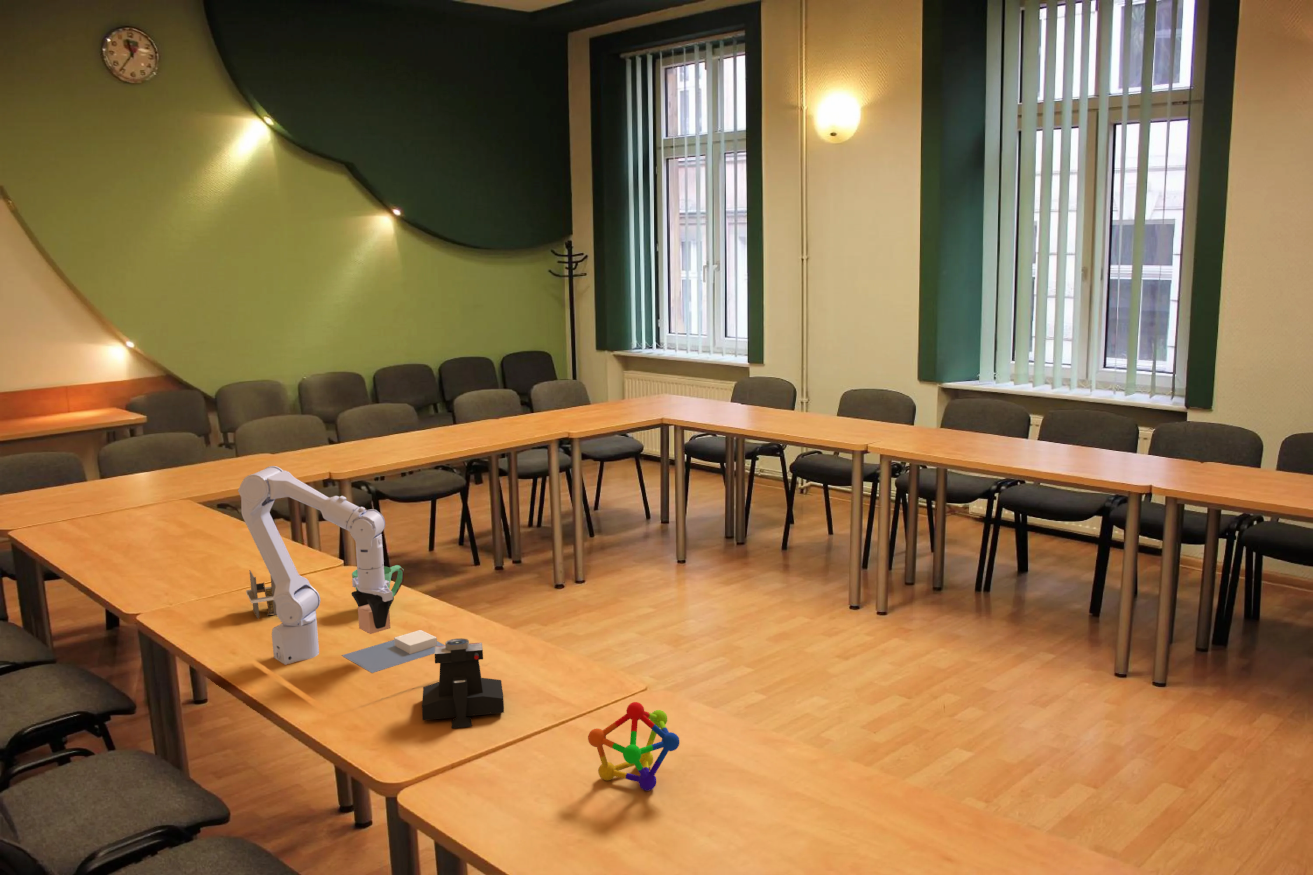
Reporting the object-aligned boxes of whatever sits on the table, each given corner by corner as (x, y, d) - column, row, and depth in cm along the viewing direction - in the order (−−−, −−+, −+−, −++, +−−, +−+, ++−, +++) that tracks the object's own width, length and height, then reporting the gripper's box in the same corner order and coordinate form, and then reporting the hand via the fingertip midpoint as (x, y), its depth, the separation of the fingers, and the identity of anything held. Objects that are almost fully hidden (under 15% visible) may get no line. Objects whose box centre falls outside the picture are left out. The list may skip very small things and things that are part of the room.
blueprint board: (372, 676, 237) (371, 664, 236) (341, 658, 247) (340, 646, 246) (451, 651, 250) (450, 639, 249) (419, 635, 260) (418, 624, 259)
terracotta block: (370, 634, 240) (368, 612, 239) (359, 628, 244) (357, 606, 243) (390, 628, 243) (389, 606, 242) (379, 622, 247) (377, 601, 246)
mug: (371, 618, 272) (368, 580, 270) (346, 610, 278) (343, 573, 276) (416, 601, 284) (414, 565, 282) (391, 594, 289) (389, 558, 287)
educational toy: (638, 815, 181) (630, 734, 177) (588, 788, 190) (578, 710, 186) (702, 774, 191) (695, 696, 187) (651, 750, 200) (644, 676, 196)
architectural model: (226, 608, 282) (222, 567, 280) (293, 597, 290) (289, 557, 288) (236, 631, 266) (232, 587, 264) (306, 618, 274) (303, 576, 271)
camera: (498, 630, 226) (501, 650, 211) (501, 697, 227) (505, 722, 213) (420, 636, 223) (418, 657, 208) (424, 705, 224) (422, 730, 210)
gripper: (403, 568, 238) (407, 627, 241) (370, 555, 249) (374, 611, 251) (374, 576, 233) (378, 636, 236) (342, 561, 244) (346, 619, 246)
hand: (374, 624), depth 243 cm, fingers closed on terracotta block, 5 cm apart
